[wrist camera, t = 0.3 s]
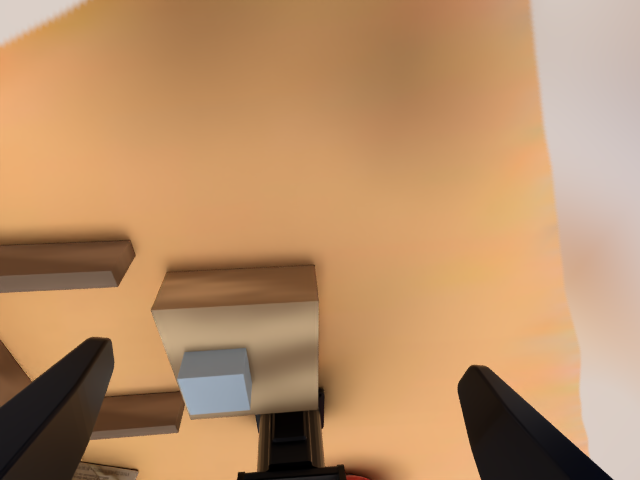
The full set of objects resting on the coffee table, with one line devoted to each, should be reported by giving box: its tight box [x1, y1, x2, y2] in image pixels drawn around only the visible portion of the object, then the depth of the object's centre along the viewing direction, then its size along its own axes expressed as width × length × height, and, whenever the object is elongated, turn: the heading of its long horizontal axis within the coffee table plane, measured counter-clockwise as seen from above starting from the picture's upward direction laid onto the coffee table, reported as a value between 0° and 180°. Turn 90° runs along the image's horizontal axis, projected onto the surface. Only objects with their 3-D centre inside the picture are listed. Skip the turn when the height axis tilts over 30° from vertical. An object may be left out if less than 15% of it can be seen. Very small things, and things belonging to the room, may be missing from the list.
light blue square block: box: [177, 348, 252, 415], centre depth 24 cm, size 4×4×2 cm
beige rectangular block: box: [151, 265, 319, 420], centre depth 26 cm, size 12×10×4 cm
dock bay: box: [0, 240, 185, 440], centre depth 25 cm, size 17×13×3 cm
